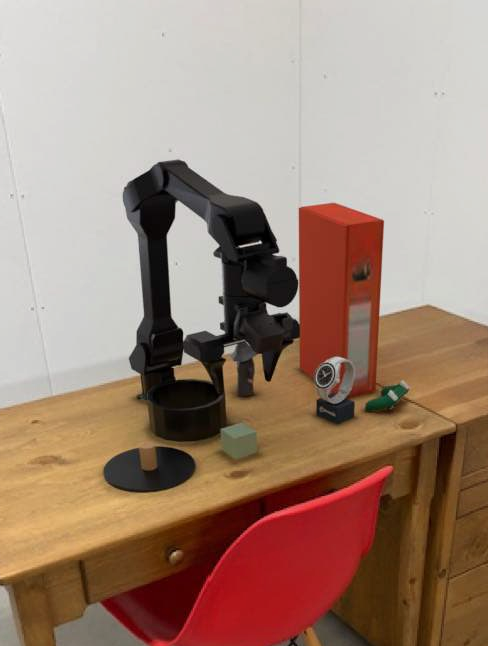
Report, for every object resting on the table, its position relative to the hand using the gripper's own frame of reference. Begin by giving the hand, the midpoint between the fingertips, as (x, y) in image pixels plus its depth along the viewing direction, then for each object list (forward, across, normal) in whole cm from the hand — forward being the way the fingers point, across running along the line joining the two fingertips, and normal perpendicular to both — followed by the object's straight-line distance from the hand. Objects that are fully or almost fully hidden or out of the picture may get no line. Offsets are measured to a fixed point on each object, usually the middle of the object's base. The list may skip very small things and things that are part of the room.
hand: (244, 387), depth 129 cm
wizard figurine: (+12, +13, +21) cm, 27 cm away
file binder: (+12, +31, +15) cm, 36 cm away
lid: (+11, -17, +3) cm, 20 cm away
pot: (+11, -4, +14) cm, 18 cm away
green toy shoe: (+12, +31, -1) cm, 33 cm away
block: (+11, -2, 0) cm, 11 cm away
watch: (+12, +20, +1) cm, 23 cm away
